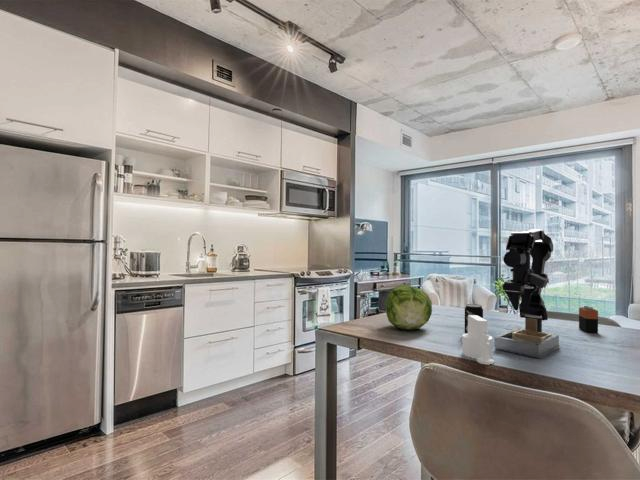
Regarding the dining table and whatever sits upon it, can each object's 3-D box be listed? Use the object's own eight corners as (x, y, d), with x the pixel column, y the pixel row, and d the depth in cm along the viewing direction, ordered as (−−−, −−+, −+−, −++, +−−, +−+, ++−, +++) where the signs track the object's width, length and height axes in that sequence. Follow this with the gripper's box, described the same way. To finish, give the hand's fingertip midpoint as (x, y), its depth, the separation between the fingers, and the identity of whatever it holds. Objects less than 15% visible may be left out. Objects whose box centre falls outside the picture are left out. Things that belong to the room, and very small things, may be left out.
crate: (521, 338, 138) (521, 315, 138) (551, 343, 130) (551, 319, 130) (512, 342, 132) (512, 318, 132) (543, 348, 125) (543, 322, 125)
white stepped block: (458, 350, 126) (458, 315, 126) (485, 351, 126) (485, 315, 126) (468, 359, 117) (468, 320, 117) (497, 359, 117) (497, 321, 117)
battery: (586, 332, 150) (586, 307, 150) (578, 329, 157) (578, 305, 157) (598, 333, 149) (598, 308, 149) (590, 329, 156) (590, 305, 156)
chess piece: (473, 359, 117) (473, 327, 117) (489, 359, 117) (489, 327, 117) (481, 364, 112) (481, 331, 112) (497, 364, 112) (497, 331, 112)
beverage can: (484, 338, 141) (484, 306, 141) (466, 337, 142) (466, 306, 142) (480, 334, 147) (481, 304, 147) (463, 333, 149) (463, 303, 149)
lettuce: (386, 336, 146) (394, 292, 144) (380, 316, 169) (387, 277, 167) (436, 344, 146) (444, 299, 143) (423, 322, 169) (430, 284, 166)
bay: (516, 339, 140) (516, 327, 140) (559, 347, 129) (559, 335, 129) (493, 349, 127) (493, 336, 127) (539, 359, 117) (539, 345, 117)
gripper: (536, 268, 125) (535, 315, 125) (554, 266, 138) (554, 308, 138) (501, 266, 134) (501, 310, 134) (522, 264, 146) (522, 304, 146)
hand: (521, 308), depth 138 cm, fingers open, 9 cm apart
